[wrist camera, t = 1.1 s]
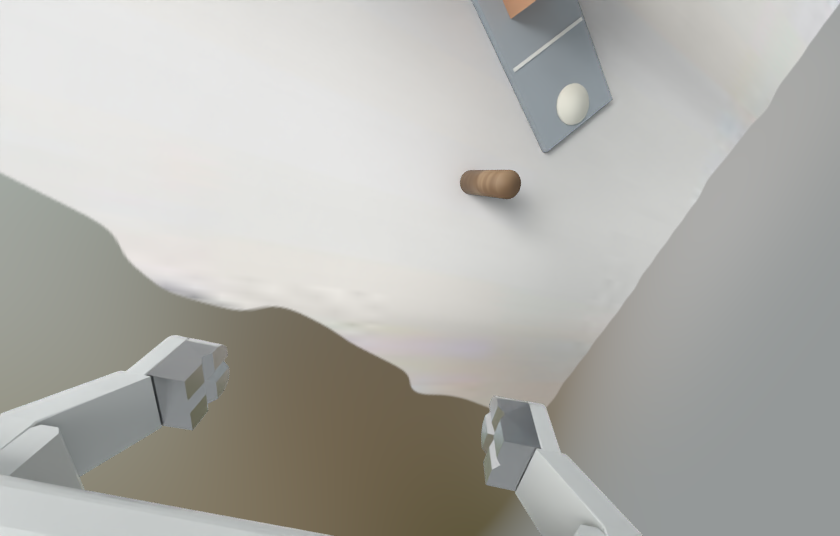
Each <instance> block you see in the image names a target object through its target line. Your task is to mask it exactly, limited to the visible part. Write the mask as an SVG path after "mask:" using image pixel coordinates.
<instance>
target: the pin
mask: <svg viewBox="0 0 840 536" xmlns="http://www.w3.org/2000/svg"><path fill="white" fill-rule="evenodd" d="M460 186H461V189H462V190H463V191H464V192H465V193H467V194H473V195H480V196H488V197H495V198H503V199H511V198H513V197H514V196H516V195H517V193H518V192H519V190H520V186H521V180H520V177H519V175H518V174H517V173H516V172H515V171H513V170H469V171H467V172H465V173H464V174H463V175H462V177H461V180H460Z"/></svg>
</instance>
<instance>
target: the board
mask: <svg viewBox="0 0 840 536" xmlns="http://www.w3.org/2000/svg"><path fill="white" fill-rule="evenodd" d="M472 2H473V4H474V6H475V9H476V11H477V13H478V15H479V17H480V19H481V21H482V23H483V26H484V28H485V30H486V32H487V34H488V36H489V38H490V40H491V43H492V45H493V47H494V49H495V51H496V53H497V55H498V58H499V60H500V62H501V64H502V66H503V68H504V70H505V72H506V75H507V77H508V79H509V81H510V83H511V85H512V87H513V89H514V92H515V94H516V96H517V98H518V100H519V102H520V104H521V107H522V109H523V111H524V113H525V115H526V117H527V119H528V121H529V124H530V126H531V128H532V130H533V132H534V134H535V136H536V138H537V141H538V143H539V145H540V147H541V149H542V151H543V152H548V151H549V150H550V149H552V148H553V147H554V146H555V145H556V144H558V143H559V142H560V141H561V140H563V139H564V138H565V137H566V136H568V135H569V134H570V133H571V132H573V131H574V130H575V129H576V128H578V127H579V126H580V125H581V124H583V123H584V122H585V121H586V120H588V119H589V118H590V117H591V116H593V115H594V114H595V113H596V112H598V111H599V110H600V109H601V108H603V107H604V106H605V105H606V104H608V103H609V102H610V101H611V100H612V96H611V94H610V91H609V88H608V85H607V82H606V79H605V77H604V74H603V71H602V68H601V65H600V62H599V60H598V57H597V54H596V51H595V48H594V45H593V43H592V40H591V37H590V34H589V31H588V28H587V26H586V23H585V20H584V17H583V14H582V11H581V9H580V6H579V3H578V0H536V1H535V2H533V3H532V4H531V5H529V6H528V7H527V8H525V9H524V10H522V11H521V12H520V13H518V14H517V15H516V16H514V17H513V18H512V19H511V18H510V16H509V14H508V12H507V9H506V7H505V5H504V2H503V0H472Z"/></svg>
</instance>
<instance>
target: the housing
mask: <svg viewBox="0 0 840 536" xmlns="http://www.w3.org/2000/svg"><path fill="white" fill-rule="evenodd" d="M535 1H536V0H503V2H504V5H505V7H506V9H507V12H508V14H509V16H510V18H511V19H512V18H513V17H514V16H516V15H517V14H518V13H520V12H521V11H522V10H524V9H525V8H527V7H528V6H529V5H531V4H532V3H533V2H535Z"/></svg>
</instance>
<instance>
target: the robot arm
mask: <svg viewBox="0 0 840 536" xmlns="http://www.w3.org/2000/svg"><path fill="white" fill-rule="evenodd" d="M227 356H228V354H227V347H226V346H224V345H221V344H217V343H212V342H207V341H203V340H198V339H193V338H186V337H182V336H177V335H173V336H169V337H168V338H166V339H165V340H164V341H163V342H161V343H160V344H159V345H158V346H157V347H155V348H154V349H153V350H152V351H150V352H149V353H148V354H147V355H146V356H144V357H143V358H142V359H141V360H140V361H138V362H137V363H136V364H135V365H133V366H132V367H131V368H130V369H129V370H127V371H126V372H125V371H118V372H115V373H112V374H110V375H107V376H104V377H101V378H98V379H96V380H93V381H90V382H87V383H85V384H82V385H79V386H76V387H74V388H71V389H68V390H65V391H62V392H59V393H57V394H54V395H51V396H48V397H46V398H43V399H40V400H37V401H34V402H31V403H29V404H26V405H23V406H20V407H18V408H15V409H12V410H9V411H6V412H4V413H1V414H0V536H331V535H326V534H321V533H315V532H310V531H305V530H299V529H294V528H288V527H283V526H277V525H272V524H266V523H261V522H256V521H250V520H245V519H239V518H234V517H228V516H223V515H217V514H212V513H207V512H201V511H196V510H189V509H185V508H180V507H174V506H169V505H163V504H158V503H152V502H147V501H142V500H136V499H131V498H125V497H120V496H114V495H109V494H104V493H98V492H93V491H87V490H84V487H83V485H82V483H81V480H80V478H79V477H80V476H82V475H83V474H85V473H86V472H88V471H90V470H92V469H93V468H95V467H96V466H98V465H100V464H101V463H103V462H105V461H107V460H108V459H110V458H111V457H113V456H115V455H116V454H118V453H120V452H121V451H123V450H125V449H126V448H128V447H129V446H131V445H133V444H135V443H136V442H138V441H140V440H141V439H143V438H145V437H146V436H148V435H150V434H151V433H153V432H155V431H156V430H158V429H159V428H161V427H162V426H161V425H163V426H169V427H175V428H182V429H188V430H193V429H194V428H195V427H196V425H197V424H198V423H199V422H200V420H201V419H202V418H203V417H204V415H205V414H206V413H207V412H208V403H210V402H212V401H214V400H216V399H218V398H219V396H220V395H221V394H222V392H223V391H224V389H225V387H226V385H227V382H228V379H229V367H228V365H227V364H226V363H225V362H224V359H225V358H226V357H227ZM489 407H490V413H488V414H487V415H485V418H484V421H483V426H482V432H481V433H482V434H481V436H482V437H481V440H482V449H483V450H484V451H485V453H486V457H485V460H484V462H483V463H484V471H485V481H486V485H490V486H494V487H498V488H503V489H508V490H512V491H516V492H515V493H516V495H517V497H518V498H519V500H520V501H521V503H522V505H523V506H524V508H525V510H526V511H527V513H528V514H529V516H530V518H531V519H532V521H533V523H534V524H535V526H536V528H537V529H538V531H539V532H540V534H541V536H643V535H642V534H641V533H640V532H639V531H638V530H637V529H636V528H635V527H634V525H633V524H632V523H631V522H630V521H629V520H628V519H627V518H626V517H625V516H624V515H623V514H622V513H621V512H620V511H619V510H618V508H617V507H616V506H615V505H614V504H613V503H612V502H611V501H610V500H609V499H608V498H607V497H606V496H605V495H604V494H603V493H602V492H601V491H600V489H599V488H598V487H597V486H596V485H595V484H594V483H593V482H592V481H591V480H590V479H589V478H588V477H587V476H586V474H584V472H583V471H582V470H581V469H580V468H579V467H578V466H577V465H576V464H575V463H574V462H573V461H572V460H571V459H570V457H569V456H568V455H566V454H564V453H561V451H560V448H559V445H558V442H557V439H556V436H555V434H554V430H553V427H552V424H551V421H550V418H549V415H548V412H547V409H546V407H545V406H544V404H540V403H534V402H528V401H522V400H516V399H511V398H505V397H500V396H493V397H492V399H491V401H490V404H489Z"/></svg>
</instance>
